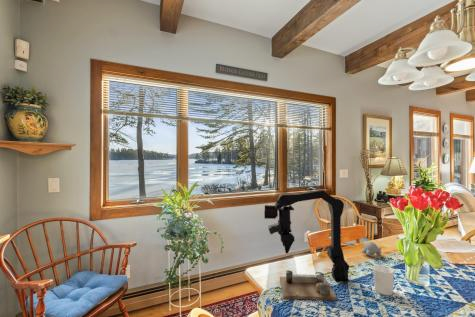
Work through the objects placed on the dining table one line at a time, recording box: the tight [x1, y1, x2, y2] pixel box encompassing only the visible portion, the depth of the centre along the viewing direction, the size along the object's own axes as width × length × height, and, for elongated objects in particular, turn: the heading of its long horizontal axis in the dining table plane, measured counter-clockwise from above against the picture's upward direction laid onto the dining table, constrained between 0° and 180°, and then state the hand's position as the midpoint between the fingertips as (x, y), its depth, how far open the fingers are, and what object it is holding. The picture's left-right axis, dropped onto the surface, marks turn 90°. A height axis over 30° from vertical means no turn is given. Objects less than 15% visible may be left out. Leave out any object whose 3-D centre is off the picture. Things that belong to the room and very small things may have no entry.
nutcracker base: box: [279, 276, 338, 301], centre depth 105 cm, size 22×16×5 cm
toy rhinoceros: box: [361, 240, 382, 258], centre depth 140 cm, size 7×12×8 cm, turn 100°
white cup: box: [372, 264, 395, 296], centre depth 103 cm, size 8×8×10 cm
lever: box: [285, 270, 325, 283], centre depth 108 cm, size 17×4×4 cm, turn 86°
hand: (285, 249), depth 116 cm, fingers open, 9 cm apart
